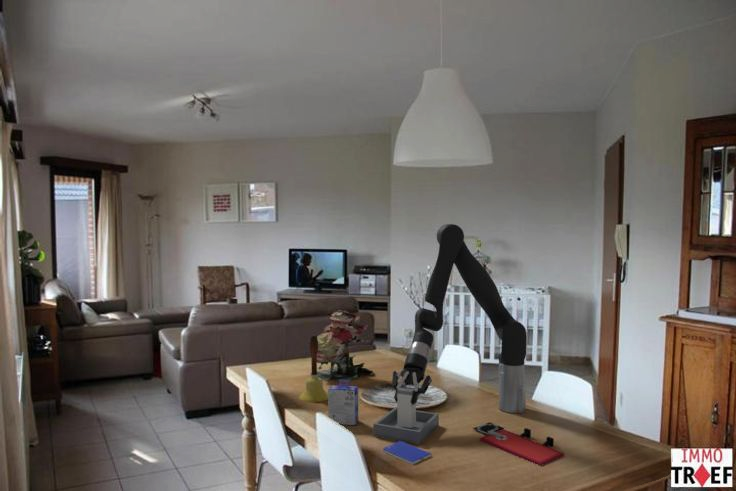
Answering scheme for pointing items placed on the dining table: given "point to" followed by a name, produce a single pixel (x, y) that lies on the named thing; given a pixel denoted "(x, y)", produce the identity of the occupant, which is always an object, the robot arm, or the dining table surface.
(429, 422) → the tray
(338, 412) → the ink cartridge box
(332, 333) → the rose bouquet
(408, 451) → the hard drive
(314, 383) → the handbell
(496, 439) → the red board with handle
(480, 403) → the dining table surface
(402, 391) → the grey block
